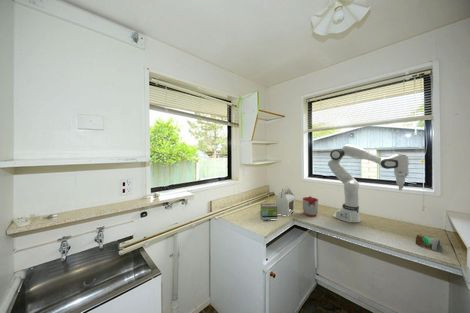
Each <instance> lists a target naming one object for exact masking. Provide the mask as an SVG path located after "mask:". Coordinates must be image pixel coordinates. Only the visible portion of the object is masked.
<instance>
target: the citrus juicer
mask: <svg viewBox="0 0 470 313" xmlns="http://www.w3.org/2000/svg"><path fill="white" fill-rule="evenodd" d="M301 199H302V210H303V213H304V215H305V216H307V217H316V216H317V215H318V211H319V199H318V198H315V197H313V196H312V195H309V196H305V197H302V198H301Z"/></svg>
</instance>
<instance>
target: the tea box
mask: <svg viewBox="0 0 470 313" xmlns="http://www.w3.org/2000/svg"><path fill="white" fill-rule="evenodd" d="M260 218H262V219H261V221H262V220H271V219H277V220H278V215H277V206H276V202H275V203H260Z"/></svg>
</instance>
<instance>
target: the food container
mask: <svg viewBox="0 0 470 313" xmlns="http://www.w3.org/2000/svg"><path fill="white" fill-rule="evenodd" d="M440 243H441V240H440V239H438V238H436V237H430V236H425V235H421V234H417V235H416V238H415V244H416V245H418V246H420V245H421V246H424V247H427V248H430V249H429V250H431V249H432V250H431V251H434V250H436V251H435V252H438V251H437V246H438V245H440ZM427 248H426V249H427Z"/></svg>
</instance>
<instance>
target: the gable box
mask: <svg viewBox="0 0 470 313" xmlns="http://www.w3.org/2000/svg"><path fill="white" fill-rule="evenodd" d="M275 205H276V206H277V214H281V215H286V216H288V215H289V214H291V213H292V212H293V211H294V210H296V209H295V208H296V207H295V205H296V204H295V195H294V193H293V192H292V191H291V189H290V187H289V186H285V187H283V188H282V190H281V191H280V193H279V194H278V195H277V197H276V198H275ZM289 209H291V211H290V212H289ZM294 212H295V211H294ZM294 212H293V213H294ZM293 213H292V214H293ZM292 214H291V215H292ZM281 215H280V216H281ZM289 216H290V215H289ZM289 216H288V217H289Z"/></svg>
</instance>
